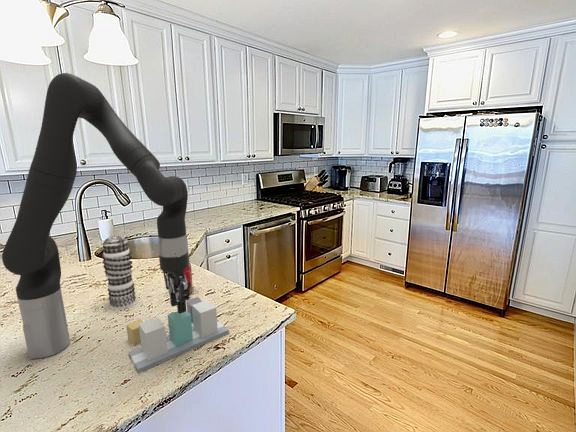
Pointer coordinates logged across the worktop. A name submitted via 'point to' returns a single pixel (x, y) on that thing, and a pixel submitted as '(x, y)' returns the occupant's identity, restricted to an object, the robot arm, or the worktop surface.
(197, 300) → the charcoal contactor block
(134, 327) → the ochre block
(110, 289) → the black and white cylinder
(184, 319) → the block
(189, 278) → the soda can
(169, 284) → the robot arm
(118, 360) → the worktop surface
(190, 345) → the rail plate
